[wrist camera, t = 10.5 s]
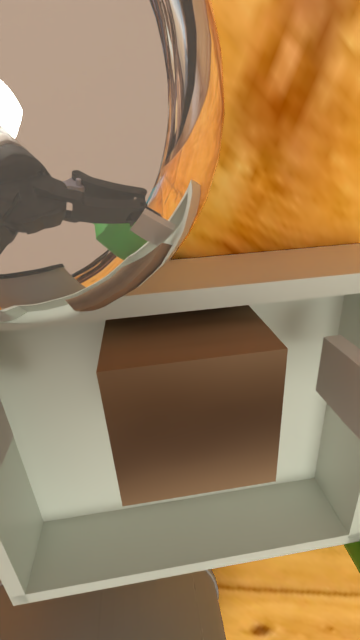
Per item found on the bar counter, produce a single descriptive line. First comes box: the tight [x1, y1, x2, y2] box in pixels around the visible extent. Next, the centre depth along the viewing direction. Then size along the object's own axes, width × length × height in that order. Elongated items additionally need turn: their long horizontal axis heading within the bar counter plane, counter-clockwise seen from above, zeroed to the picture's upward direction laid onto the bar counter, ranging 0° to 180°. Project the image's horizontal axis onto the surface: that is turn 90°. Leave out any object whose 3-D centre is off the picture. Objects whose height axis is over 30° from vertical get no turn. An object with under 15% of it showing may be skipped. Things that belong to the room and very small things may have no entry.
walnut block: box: [96, 305, 288, 506], centre depth 14 cm, size 6×6×6 cm
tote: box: [0, 243, 360, 606], centre depth 17 cm, size 20×17×4 cm
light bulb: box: [0, 0, 225, 325], centre depth 8 cm, size 7×7×12 cm
